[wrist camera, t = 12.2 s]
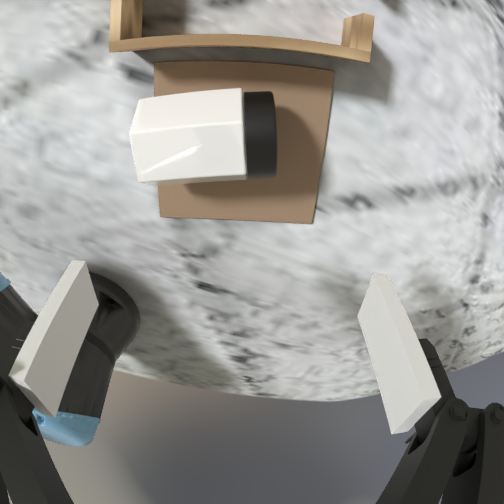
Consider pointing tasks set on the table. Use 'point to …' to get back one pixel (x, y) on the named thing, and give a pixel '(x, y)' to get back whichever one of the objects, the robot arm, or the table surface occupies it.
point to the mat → (288, 139)
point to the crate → (235, 36)
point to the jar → (205, 137)
